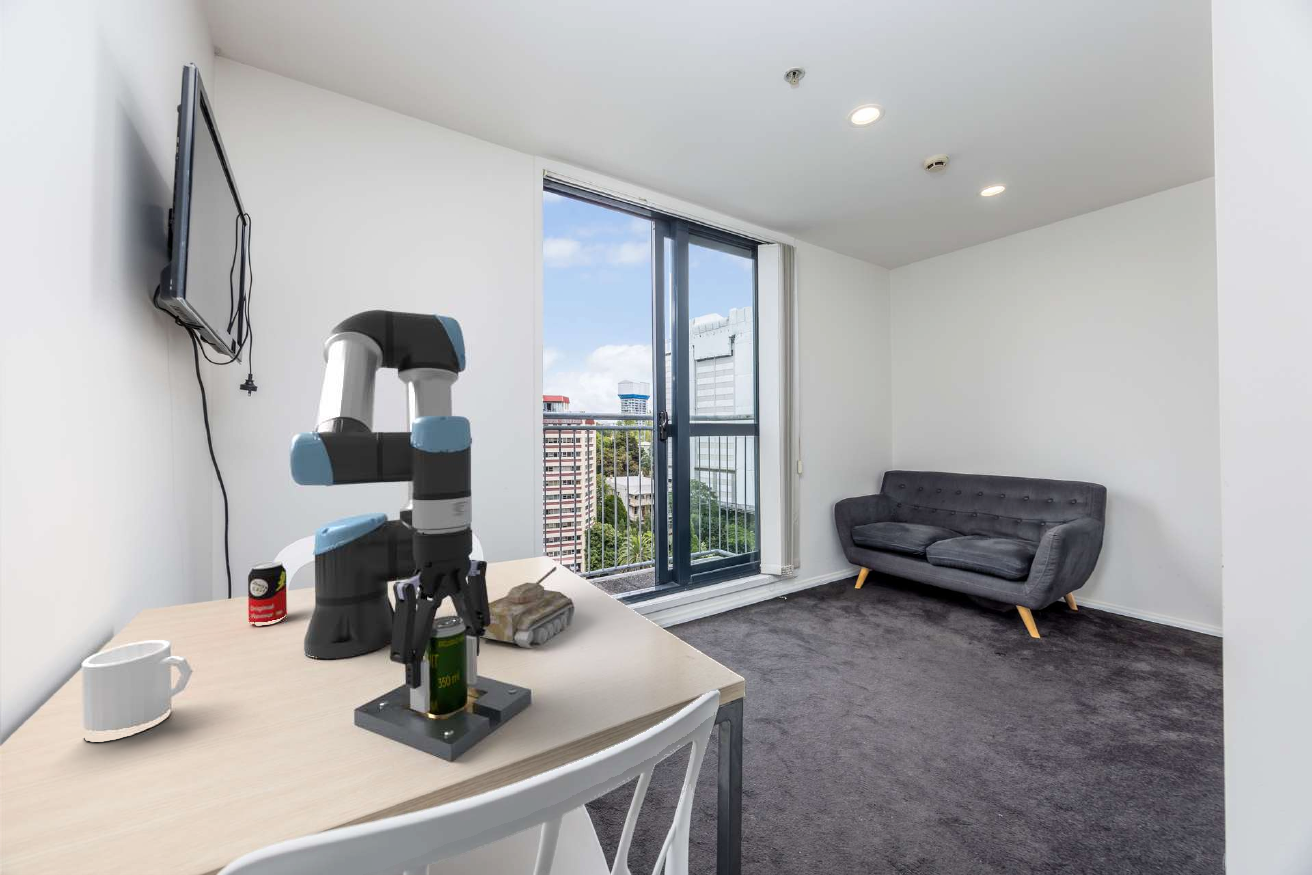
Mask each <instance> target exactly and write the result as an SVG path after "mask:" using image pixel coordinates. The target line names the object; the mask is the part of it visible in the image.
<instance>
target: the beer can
mask: <svg viewBox="0 0 1312 875" xmlns="http://www.w3.org/2000/svg"><path fill="white" fill-rule="evenodd" d="M464 622H465V620H464V618H463V617H460V616H458V615H448V616H441V617H437V618H436V617H435V619H434V622H433V626H432V629H431V633H430V636H429V640H428V644H427V647H426V651H425V654H424V659H426V660H429V697H430V710H429V711H428V712H426V713H427V715H428V716H429V717H431V718H434V719H438V720H439V719H446V718H448V717H450V716H451V715H453V714H454V713H456V712H458V711H459V710H464V708H465V706H466V704H467V701H468V700H467V629H466V624H465V623H464Z"/></svg>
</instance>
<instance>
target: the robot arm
mask: <svg viewBox="0 0 1312 875" xmlns="http://www.w3.org/2000/svg"><path fill="white" fill-rule="evenodd" d="M324 343H325V344H324V346H323V351H322V352H323V353H322V354H323V358H324V361H325V363H326V364H327V365H326V370H325V375H324V380H323V385H322V390H321V394H320V395H321V396H320V401H319V406H318V410H317V414H316V421H315V425H314V429H313V430H311V431H309V432H299V433H297V434H295V435H294V436H293V437H292V439H291V442H290V447H289V449H290V450H289V465H290V467H289V468H290V472H291V477H292V479H293V481H294V482H295V483H296V484H298V485H299V486H325V487H331V486H344V485H345V486H346V485H360V484H361V485H362V484H363V485H364V484H377V483H383V484H386V483H400V482H401V483H404V482H406V483H407V501H406V503H405V504H404V505H403V506H402V507H401V508H400V510H399V519H392V520H389V517H388V515H387V514H386V513H383V512H378V513H367V514H361V515H355V516H351V517H347V518H341V519H338V520H335V521H331V522H328V523H325V524H323V525H322V526H320V527H319V528H318V529H317V530H316V533H315V537H314V550H313V555H314V577H315V578H314V594H315V595H314V598H315V602H314V604H315V606H314V610H313V613H312V616H311V619H310V622H309V624H308V628H307V630H306V634H305V636H304V640H303V651H305V653H306V654H308V655H310V656H314V657H317V658H325V659H324V660H332V658H334V659H335V658H336V659H343V658H349V657H354V656H355V657H356V656H359V655H363V654H366V653H371V652H373V651H375V650H378V649H380V648H383V647H385V646H387V645H388V644H389V645H390V651H389V660H390V661H391V662H395V663H397V664H402V665H404V667H405V668H404V670H405V674H404V676H405V678H404V679H405V684H406V686H407V687H409V688H410V708H411V709H414V710H417V711H420V712H423V713H426V712H428V711H429V710H430V697H429V660H426V659H425V655H424V654H425V651H426V647H427V644H428V640H429V636H430V633H431V629H432V626H433V622H434V619H436V616H437V612H438V609H439V608H441V606H442V604H443V600H444V599H446V598H447V597H450V599H451V602H452V604H453V606H454V610H455V612H456V616H460V617H463V618H464V620H465V622H464V623H465V624H466V629H467V683H468V684H472V685H474V684H476V683H477V675H478V656H480V637H479V636H484V634H485V632H486V630H485V629H483V628H484V627H488V626H489V625H490V623H491V619H490V611H489V603H490V602H489V596H488V587H487V580H486V577H487V576H486V574H487V568H488V567H487V566H488V562H487V561H485V560H480V559H479V560H478V559H471V558H470V555H471V554H472V553H473V549H474V548H473V529H472V522H473V515H472V514H473V509H472V508H473V507H472V505H473V503H472V500H473V499H472V496H473V495H472V444H473V438H472V434H471V422H470V420H469V419H468V418H467V417H465V416H460V415H459V416H458V415H453V407H452V405H453V404H452V402H453V401H452V386H453V384H455V383H456V382H457V381H458V380H459V373H462V372H464V371H465V370H466V367H467V366H466V364H467V360H466V359H467V358H466V348H465V347H466V346H465V339H464V335H463V331H462V328H461V326H460V323H459V322H458V320H457V319H455V318H454V317H451V316H444V315H438V314H436V313H433V314H427V313H425V314H424V313H415V312H403V311H391V310H385V309H383V310H382V309H373V310H367V311H366V310H365V311H362V312H359V313H356V314H354V315H351V316H350V317H347V318H346V319H344V320H342V321H341V322H339V324H338V325H336V326H335V327H333V329H332V330H331V331H330V333H329V334H328V335H327V338H326V339H325V342H324ZM381 368H382V369H383V368H384V369H395V370H397V378H398V379H399V380H400V381H401V382H403V384H405V387H406V390H405V391H406V392H405V393H406V399H405V400H406V431H392V432H391V431H384V432H383V431H374V412H375V410H374V409H375V398H376V397H375V392H376V378H377V377H376V376H377V372H378V370H379V369H381ZM390 582H395V583H393V585H392V590H393V594H394V599H395V600H394V601H395V605H394V607H393V605H392V602H391V599H390V597H389V583H390ZM418 588H419V590H418ZM481 616H482V617H481ZM305 653H304V654H305ZM317 658H316V659H317ZM329 658H330V659H329ZM334 659H333V660H334Z"/></svg>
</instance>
